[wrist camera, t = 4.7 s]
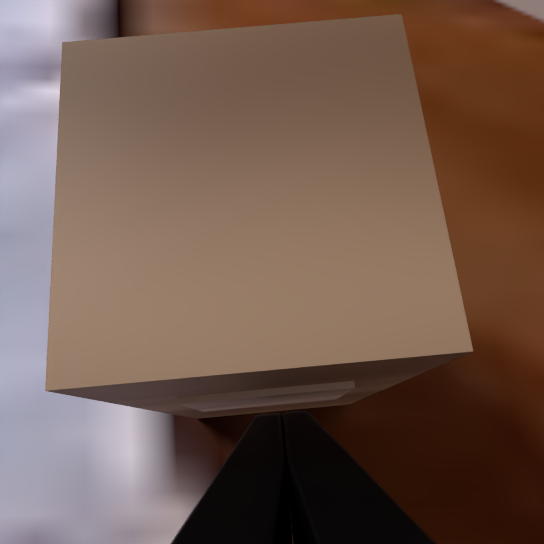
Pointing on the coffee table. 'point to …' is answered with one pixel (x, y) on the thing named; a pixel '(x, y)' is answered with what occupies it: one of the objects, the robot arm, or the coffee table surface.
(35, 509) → the coffee table surface
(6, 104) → the coffee table surface
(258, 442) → the robot arm
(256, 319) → the cardboard box
